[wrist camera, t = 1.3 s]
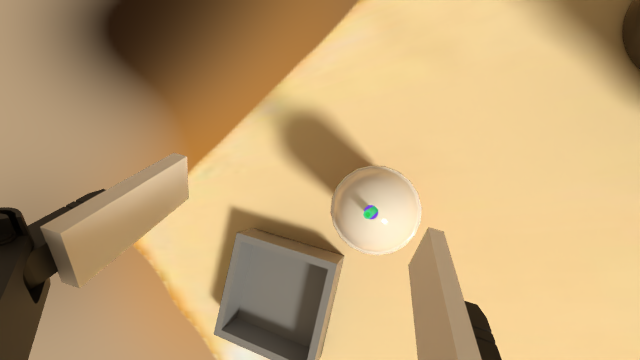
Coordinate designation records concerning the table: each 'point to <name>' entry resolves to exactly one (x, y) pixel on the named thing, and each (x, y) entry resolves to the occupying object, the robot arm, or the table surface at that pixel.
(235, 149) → the table surface
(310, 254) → the holder tray
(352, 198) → the smoothie
